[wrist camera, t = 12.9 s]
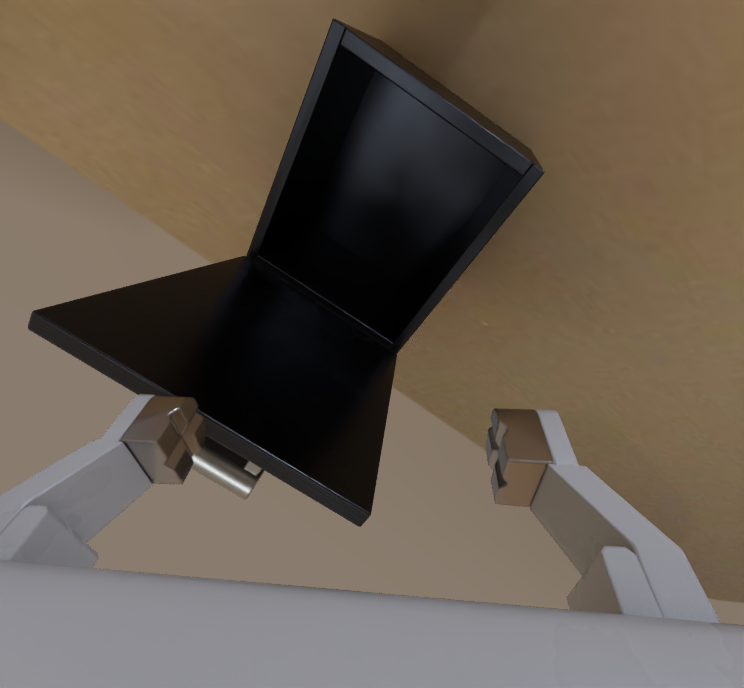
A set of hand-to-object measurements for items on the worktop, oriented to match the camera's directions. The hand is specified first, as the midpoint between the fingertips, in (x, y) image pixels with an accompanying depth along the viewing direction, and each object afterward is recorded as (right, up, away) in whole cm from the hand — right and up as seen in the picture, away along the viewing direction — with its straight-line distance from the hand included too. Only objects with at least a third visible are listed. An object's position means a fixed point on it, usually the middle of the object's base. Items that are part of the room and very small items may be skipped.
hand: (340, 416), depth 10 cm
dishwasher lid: (-4, +2, +10) cm, 11 cm away
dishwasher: (+3, +15, +22) cm, 27 cm away
